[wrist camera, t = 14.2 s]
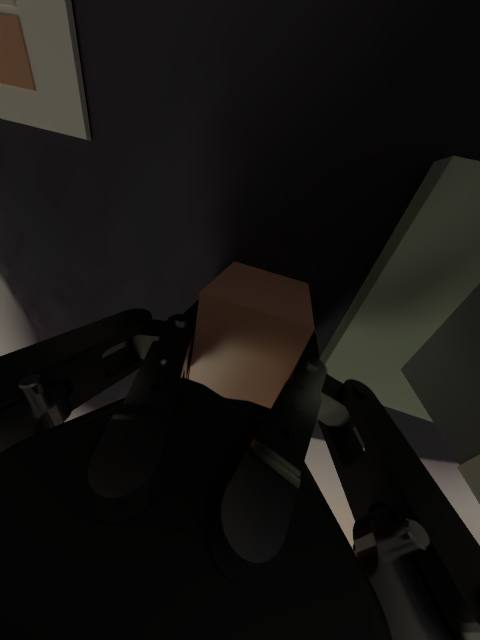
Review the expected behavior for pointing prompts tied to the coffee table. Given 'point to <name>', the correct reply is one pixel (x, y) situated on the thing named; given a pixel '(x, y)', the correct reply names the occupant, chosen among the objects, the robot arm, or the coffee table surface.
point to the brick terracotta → (250, 333)
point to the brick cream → (472, 475)
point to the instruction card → (41, 67)
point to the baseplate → (423, 311)
